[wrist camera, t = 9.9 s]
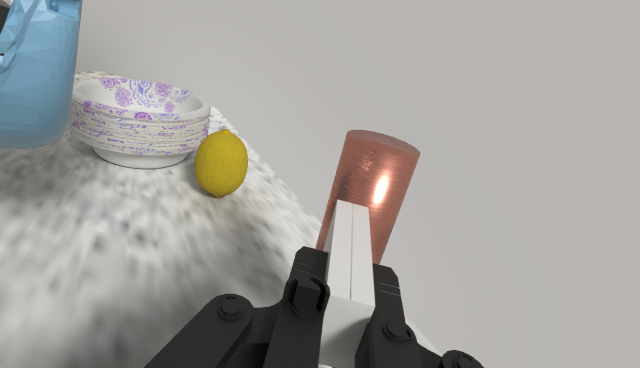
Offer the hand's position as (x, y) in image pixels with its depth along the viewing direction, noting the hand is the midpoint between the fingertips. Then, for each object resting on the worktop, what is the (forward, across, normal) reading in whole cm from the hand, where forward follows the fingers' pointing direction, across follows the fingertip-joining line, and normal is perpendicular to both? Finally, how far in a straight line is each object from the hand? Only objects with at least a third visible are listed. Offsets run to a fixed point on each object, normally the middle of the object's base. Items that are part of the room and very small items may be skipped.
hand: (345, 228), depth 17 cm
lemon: (+21, -13, -12) cm, 27 cm away
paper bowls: (+26, -25, -12) cm, 38 cm away
